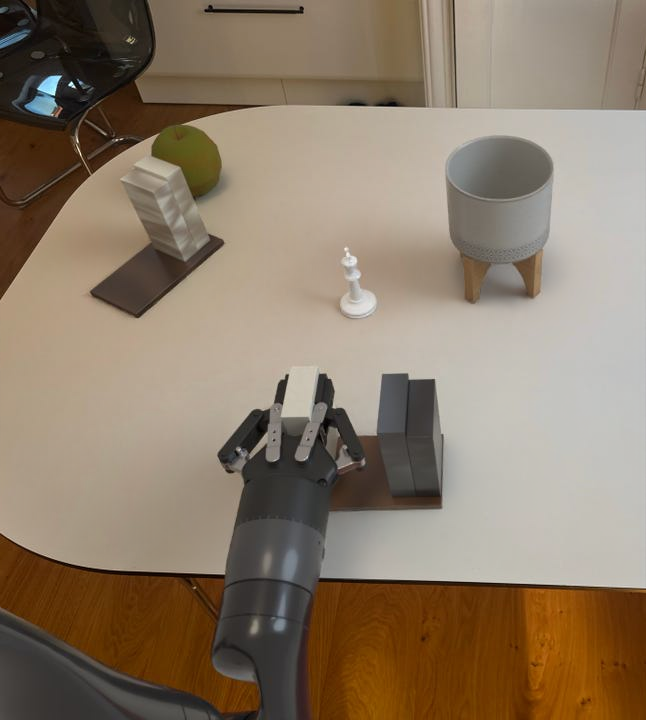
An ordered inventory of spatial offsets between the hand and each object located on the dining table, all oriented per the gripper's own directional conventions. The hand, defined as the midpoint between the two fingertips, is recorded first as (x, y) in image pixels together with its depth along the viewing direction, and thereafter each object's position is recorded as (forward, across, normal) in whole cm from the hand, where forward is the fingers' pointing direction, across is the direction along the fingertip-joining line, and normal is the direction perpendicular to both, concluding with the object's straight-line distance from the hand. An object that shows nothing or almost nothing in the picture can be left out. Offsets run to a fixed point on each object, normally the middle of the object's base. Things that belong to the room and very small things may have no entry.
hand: (307, 379), depth 69 cm
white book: (-3, 0, +10) cm, 10 cm away
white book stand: (+31, +28, +14) cm, 44 cm away
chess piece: (+23, -1, +14) cm, 27 cm away
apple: (+49, +27, +14) cm, 58 cm away
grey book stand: (-3, -5, +13) cm, 15 cm away
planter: (+28, -20, +13) cm, 37 cm away
